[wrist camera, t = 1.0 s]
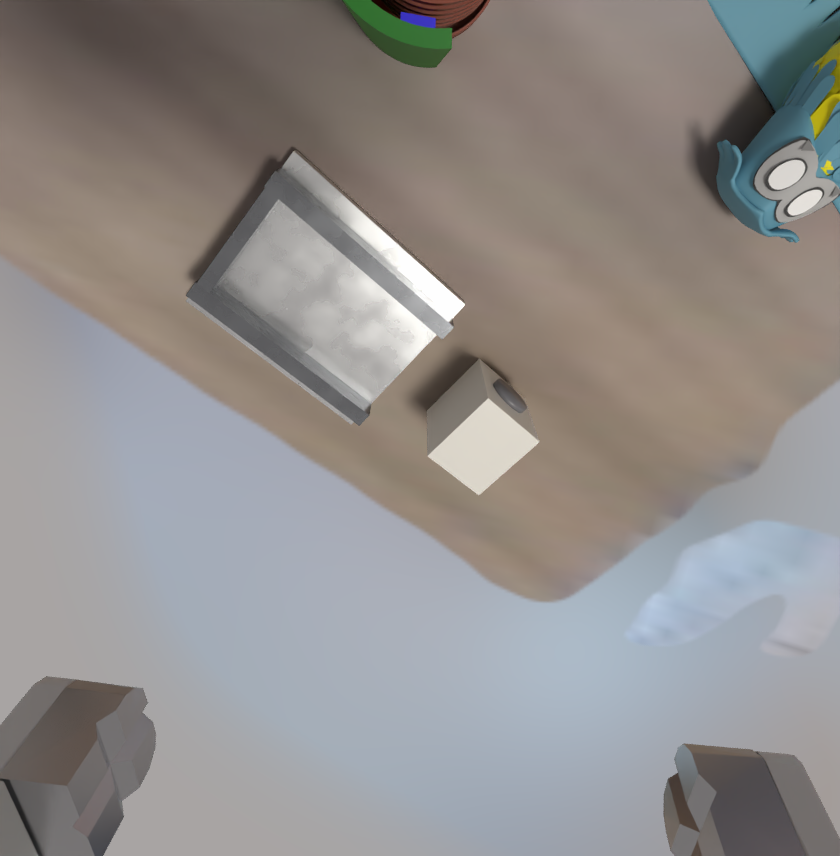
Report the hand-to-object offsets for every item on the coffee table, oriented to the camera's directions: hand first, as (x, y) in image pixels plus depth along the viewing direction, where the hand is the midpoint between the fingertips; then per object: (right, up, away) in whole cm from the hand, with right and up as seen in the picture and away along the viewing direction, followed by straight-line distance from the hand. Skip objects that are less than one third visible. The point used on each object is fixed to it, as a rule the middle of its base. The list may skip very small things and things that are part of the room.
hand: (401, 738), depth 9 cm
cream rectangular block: (+5, +7, +38) cm, 39 cm away
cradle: (-6, +14, +34) cm, 38 cm away
